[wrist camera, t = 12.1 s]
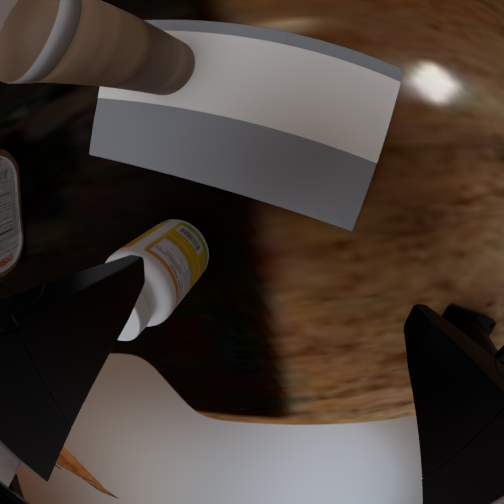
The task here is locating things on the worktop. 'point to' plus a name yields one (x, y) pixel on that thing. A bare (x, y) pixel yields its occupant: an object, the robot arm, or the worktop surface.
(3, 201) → the tin
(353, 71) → the slate-grey panel
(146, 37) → the beige tapered cylinder
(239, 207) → the worktop surface
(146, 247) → the supplement bottle
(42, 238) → the worktop surface
